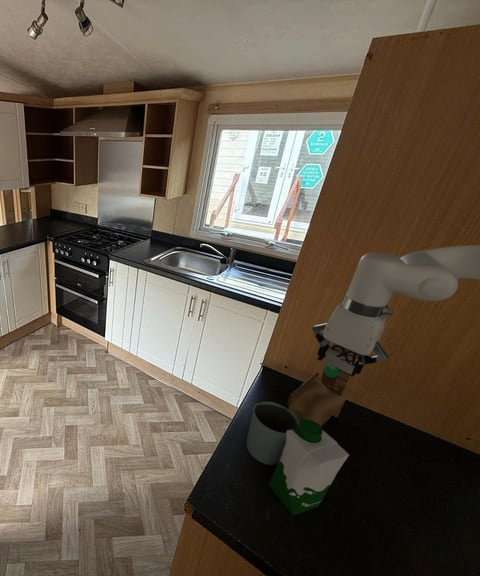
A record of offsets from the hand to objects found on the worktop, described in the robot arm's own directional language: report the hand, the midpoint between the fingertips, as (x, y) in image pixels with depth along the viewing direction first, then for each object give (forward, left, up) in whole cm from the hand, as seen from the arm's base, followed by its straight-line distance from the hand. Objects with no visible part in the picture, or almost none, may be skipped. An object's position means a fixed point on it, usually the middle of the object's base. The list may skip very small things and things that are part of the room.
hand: (336, 365), depth 80 cm
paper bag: (+1, 0, -20) cm, 20 cm away
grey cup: (+3, +20, -20) cm, 29 cm away
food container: (0, 0, -5) cm, 5 cm away
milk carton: (-7, +26, -20) cm, 34 cm away
